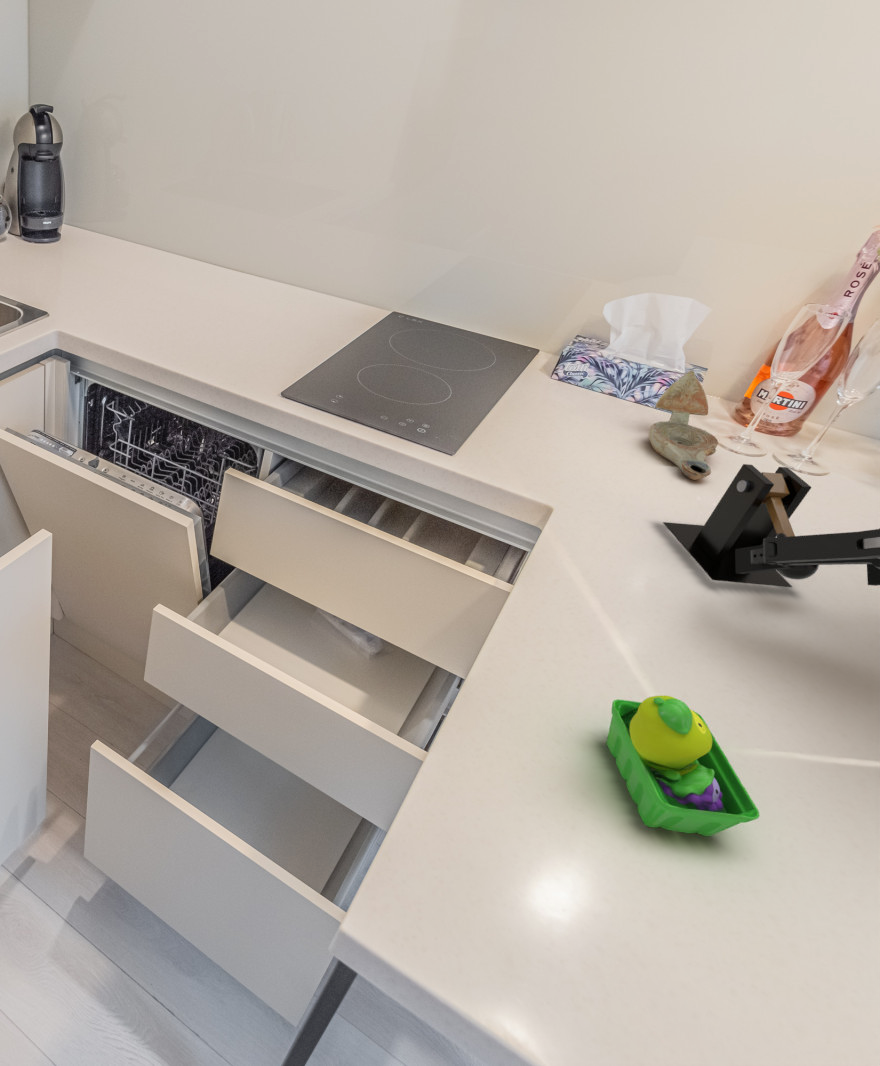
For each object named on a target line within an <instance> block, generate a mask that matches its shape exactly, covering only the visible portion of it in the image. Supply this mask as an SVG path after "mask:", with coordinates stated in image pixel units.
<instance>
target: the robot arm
mask: <svg viewBox="0 0 880 1066" xmlns="http://www.w3.org/2000/svg"><path fill="white" fill-rule="evenodd" d="M735 560H736V573H739V574H746V573H754V572H763V571H771V570H776V571H777V570H780V569H788V568H793V565H819V566H833V565H837V566H840V565H866V574H867V575H866V577H867V578H866V579H867V580H866V581H867V586H880V527H879V528H875V529H869V530H861V531H851V532H850V531H849V532H848V531H847V532H837V533H836V532H834V533H820V534H819V533H818V534H808V535H807V534H806V535H795V536H791V537H786V535H785V534H783V533H779V534H777V536H776V538H774V537H768V538H765V539H763V545H758V546H752V547H746V548H740V549H735Z"/></svg>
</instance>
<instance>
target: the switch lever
mask: <svg viewBox="0 0 880 1066" xmlns="http://www.w3.org/2000/svg"><path fill="white" fill-rule="evenodd" d="M761 473H762V474H763V475H764V476H765V477H766V478H768V479H769V480H770V481H771V482H772V483H773V484H774V486H773V487H772V489H771V490H770V492H769V493H768V494H767V496H766V497H765V499H764V500H763V502H762V503H765V504H766V506H767V509H768V512H769V515H770V517H771V520H772V523H773V525H774V528H775V531H776V533H777V534H779V533H783V534H785V535H786V537H791V536H796V535H795V531H794V529H793V527H792V524H791V522H790V518H789V519H788V516H787V514H786V511H785V509H784V506H783V503H782V501H781V499H782V498H784V497H785V496H787V495H788V494H790V493H789V491H788V488H787V485H786V483H785V480H784V478H783V475H782V474H779V473H775V472H765V471H762V472H761ZM819 568H820V565H793V568H788V569H780V570H776V571H777V572H778V573H779V574H780V575H781V576H782V577H783V578H784V577H785V578H786V579H790V580H796V581H797V580H805V579H809V578H811V577H812V576H813V575H815V574H816V573H817V571H818V570H819Z"/></svg>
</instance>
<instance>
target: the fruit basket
mask: <svg viewBox="0 0 880 1066" xmlns="http://www.w3.org/2000/svg"><path fill="white" fill-rule="evenodd" d="M713 734H714V733H712V731H711V729H710V727H709V726H708V724H707V723H706V720H705V719H704V717H703V716H702V715H701V714H699V713H698V712H696V711H694V710H692V709H691V708H690V707H689V706H688V704H687V703H685V702H684V701H682V700H681V699H678V698H676V697H674V696H671V695H660V694H659V695H654V696H653V695H652V696H649V697H648V698H645V699H644V700H643V701H636V700H635V701H634V700H627V699H619V698H617V699H614V700H612V705H611V719H610V725H609V730H608V733H607V739H606V746H607V748H608V750H609V752H610V754H611V755H612V757H613V758H614V759H615V765H616V767H617V769H618V771H619V774H620V776H621V777H622V778H623V780H624V781H625V784H626V788H627V791H628V793H629V795H630V797H631V799H632V801H633V802H634V803H635V804H636V805H637V812H638V814H639V817H640V818H641V821H642V823H643V825H645V826H646V827H648V828H662V829H664V830H666V831H673V832H678V833H685V834H696V833H697V834H698V835H702V836H704V837H711V836H714V835H716V834H719V833H721V832H723V831H725V830H727V829H730V828H732V827H734V826H737V825H739V824H743V823H744V824H746V823H749V822H752V821H755V820H758V819H759V818H760V812H759V809H758V807H757V805H756V804H755V803H754V801H753V799H752V797H751V796H750V794H749V792H748V791H747V789H746V788H745V786H744V785H743V783H742V782H741V779H740V777H739V776H738V775H737V773H736V771H735V769H734V768H733V766H732V764H731V763H730V761H729V759H728V758H727V756H726V754H725V753H724V751H723V750H722V748H721V746H720V745H719V743H718V741H717V740H716V738H715V736H714V735H713Z"/></svg>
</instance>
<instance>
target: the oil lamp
mask: <svg viewBox="0 0 880 1066" xmlns="http://www.w3.org/2000/svg"><path fill="white" fill-rule="evenodd" d="M708 402H709V401H708V398H707V395H706V393H705V390H704V388H703V386H702V384H701V383H700V381H699V378H697V376H696V373H695V371H694V370H689V371H687V372H686V373H685V374H683V375H682V376H680V377H679V378H678V379H676V380H675V381H674V382H673V383H672V384H671V385H669V387H667V389H666V390H664V392H663V393H662V394H661V396H660V397H659V398H658V400H657V401H656V403H655V405H654V407H655V409H659V410H664V411H668V412H670V413H671V415H670V417H669V420H667V421H658V422H654V423H653V424H651V426H650V428H649V430H648V438H649V442H650V444H651V447H652V449H653V450H654V451H655V452H656V453H657V454H658V455H659V456H661V457H663V458H665V459H667V460H668V461H670V462H671V463H672V464H674V465H676V466H677V467H678V468H679V469H680V471H681V472H682V474H683V475H684V476H685V477H686V478H687V479H690V480H693V481H695V480H700V479H704V478H706V477H708V476H709V475H711V473H712V470H711V468H710V466H709V465H708V464H707V461H705V460H706V458H707V457H709V456H712V455H714V454H715V453H716V452H717V447H718V446H719V440H718V439H717V437H716V436H714V435H713V434H712V433H710V432H709V431H707V430H703V429H702V428H699V427H697V426H694V425H690V424H689V421H690V415H695V416H707V415H708V414H709V403H708Z"/></svg>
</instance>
